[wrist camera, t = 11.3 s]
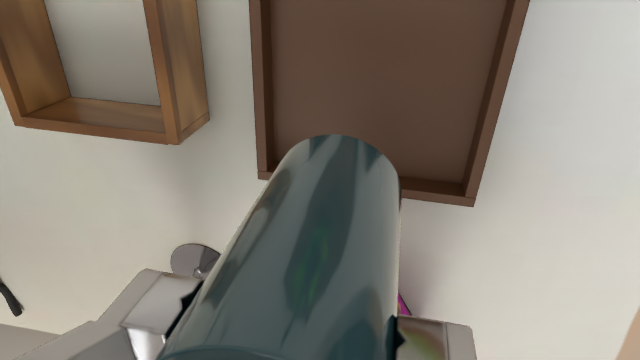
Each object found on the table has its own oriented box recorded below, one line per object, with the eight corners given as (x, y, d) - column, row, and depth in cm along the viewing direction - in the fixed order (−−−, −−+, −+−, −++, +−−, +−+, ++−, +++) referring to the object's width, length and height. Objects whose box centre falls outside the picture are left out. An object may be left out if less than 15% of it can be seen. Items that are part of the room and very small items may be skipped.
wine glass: (170, 230, 39) (55, 359, 27) (244, 257, 39) (163, 402, 26) (164, 282, 44) (61, 417, 31) (230, 308, 43) (155, 453, 31)
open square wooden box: (210, 121, 33) (178, 146, 28) (65, 105, 35) (14, 126, 30) (188, -76, 26) (142, -83, 21) (10, -80, 28) (-66, -88, 23)
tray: (469, 189, 31) (473, 207, 29) (267, 164, 33) (257, 179, 31) (532, -55, 23) (545, -56, 21) (259, -63, 25) (245, -66, 23)
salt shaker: (393, 251, 14) (370, 613, 6) (277, 234, 15) (128, 540, 7) (411, 141, 12) (409, 488, 4) (273, 126, 13) (51, 400, 5)
